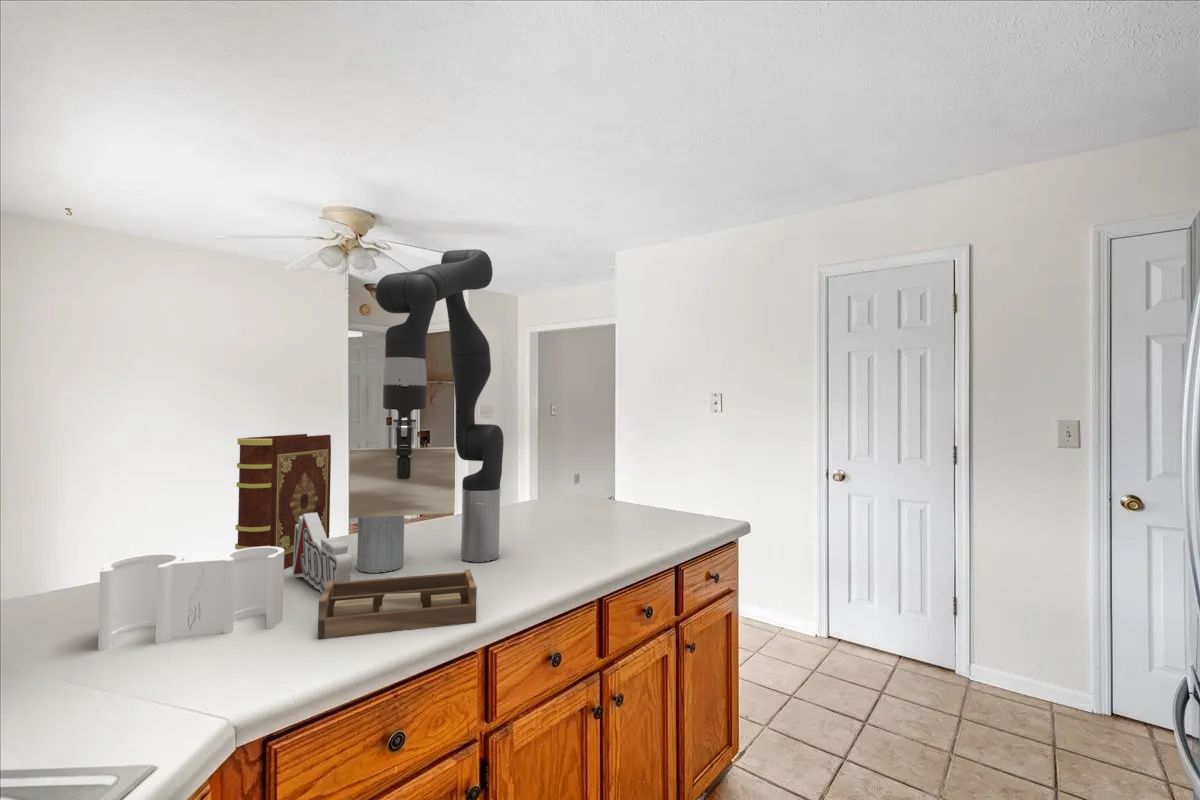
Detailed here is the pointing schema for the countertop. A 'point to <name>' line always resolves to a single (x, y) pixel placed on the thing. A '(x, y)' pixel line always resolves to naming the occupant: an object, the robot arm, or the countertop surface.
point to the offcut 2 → (445, 600)
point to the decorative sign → (319, 554)
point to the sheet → (401, 483)
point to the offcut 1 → (353, 607)
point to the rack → (401, 618)
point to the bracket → (189, 593)
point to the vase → (380, 543)
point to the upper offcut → (401, 601)
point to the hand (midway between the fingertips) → (403, 477)
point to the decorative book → (281, 488)
